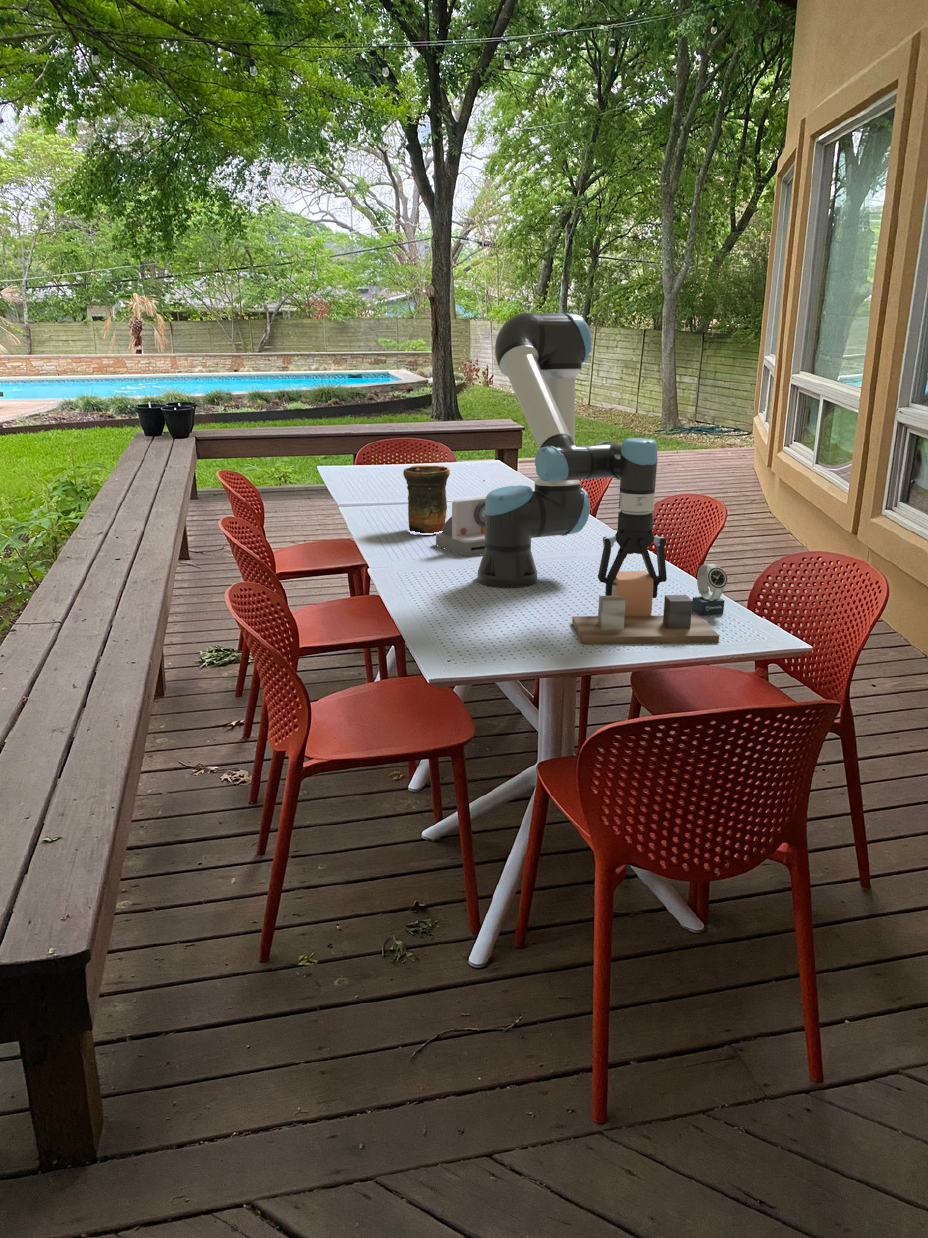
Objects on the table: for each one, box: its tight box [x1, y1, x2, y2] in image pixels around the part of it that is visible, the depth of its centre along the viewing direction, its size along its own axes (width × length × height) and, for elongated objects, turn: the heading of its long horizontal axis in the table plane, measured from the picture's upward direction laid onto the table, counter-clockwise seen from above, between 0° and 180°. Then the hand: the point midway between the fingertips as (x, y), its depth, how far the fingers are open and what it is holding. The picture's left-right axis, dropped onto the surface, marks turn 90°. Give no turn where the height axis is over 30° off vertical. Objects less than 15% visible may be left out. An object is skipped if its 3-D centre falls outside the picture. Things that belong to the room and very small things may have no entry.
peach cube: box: [614, 570, 653, 616], centre depth 206 cm, size 8×8×9 cm
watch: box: [691, 563, 729, 617], centre depth 208 cm, size 6×8×11 cm
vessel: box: [402, 464, 451, 533], centre depth 288 cm, size 14×14×20 cm
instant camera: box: [435, 496, 486, 558], centre depth 269 cm, size 21×21×15 cm
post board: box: [571, 594, 720, 645], centre depth 194 cm, size 14×28×8 cm, turn 93°
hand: (630, 611), depth 208 cm, fingers closed on peach cube, 8 cm apart
